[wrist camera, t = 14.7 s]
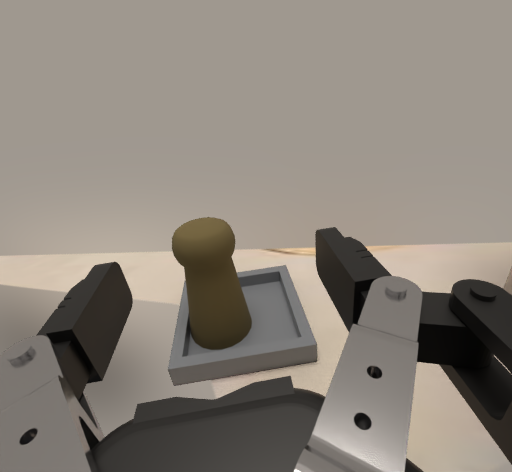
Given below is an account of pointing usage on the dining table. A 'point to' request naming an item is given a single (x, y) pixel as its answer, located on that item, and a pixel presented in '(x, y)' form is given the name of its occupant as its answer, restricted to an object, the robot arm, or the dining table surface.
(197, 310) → the cork
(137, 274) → the dining table surface
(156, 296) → the dining table surface
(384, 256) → the dining table surface
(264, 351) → the tray
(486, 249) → the dining table surface
